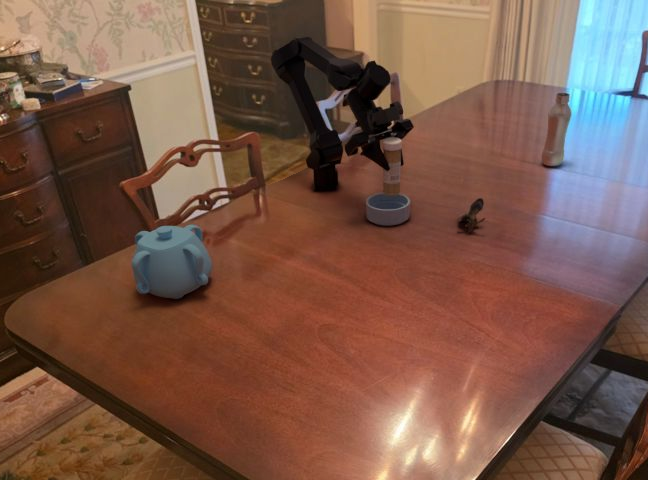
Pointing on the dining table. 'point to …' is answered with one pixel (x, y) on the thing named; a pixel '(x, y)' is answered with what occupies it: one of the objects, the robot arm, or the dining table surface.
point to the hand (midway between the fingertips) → (395, 167)
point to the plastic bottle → (557, 131)
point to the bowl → (387, 209)
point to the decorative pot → (170, 261)
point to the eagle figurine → (472, 215)
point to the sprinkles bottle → (392, 166)
